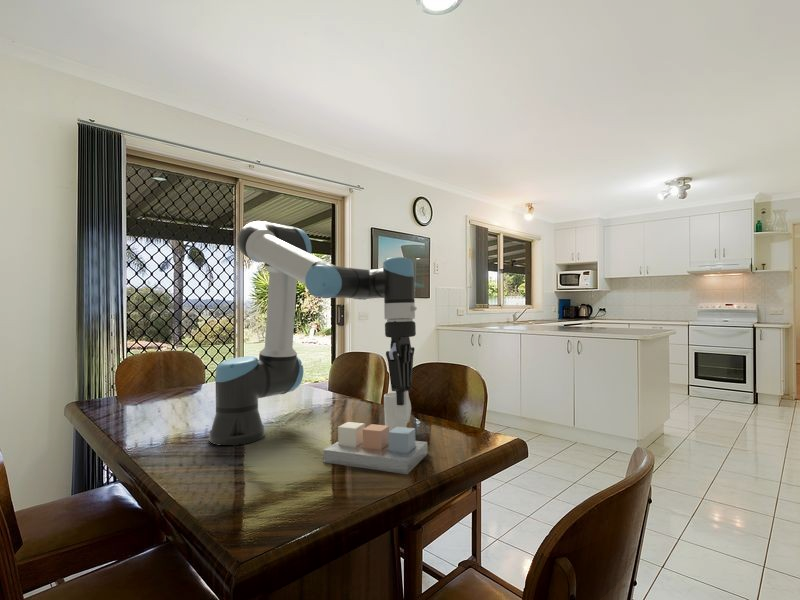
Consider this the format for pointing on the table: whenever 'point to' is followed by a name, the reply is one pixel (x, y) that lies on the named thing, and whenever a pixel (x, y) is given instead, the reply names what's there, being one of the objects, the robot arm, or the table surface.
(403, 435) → the slate key
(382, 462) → the grey slotted board
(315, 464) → the table surface
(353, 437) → the cream cube
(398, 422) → the mug
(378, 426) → the terracotta key
